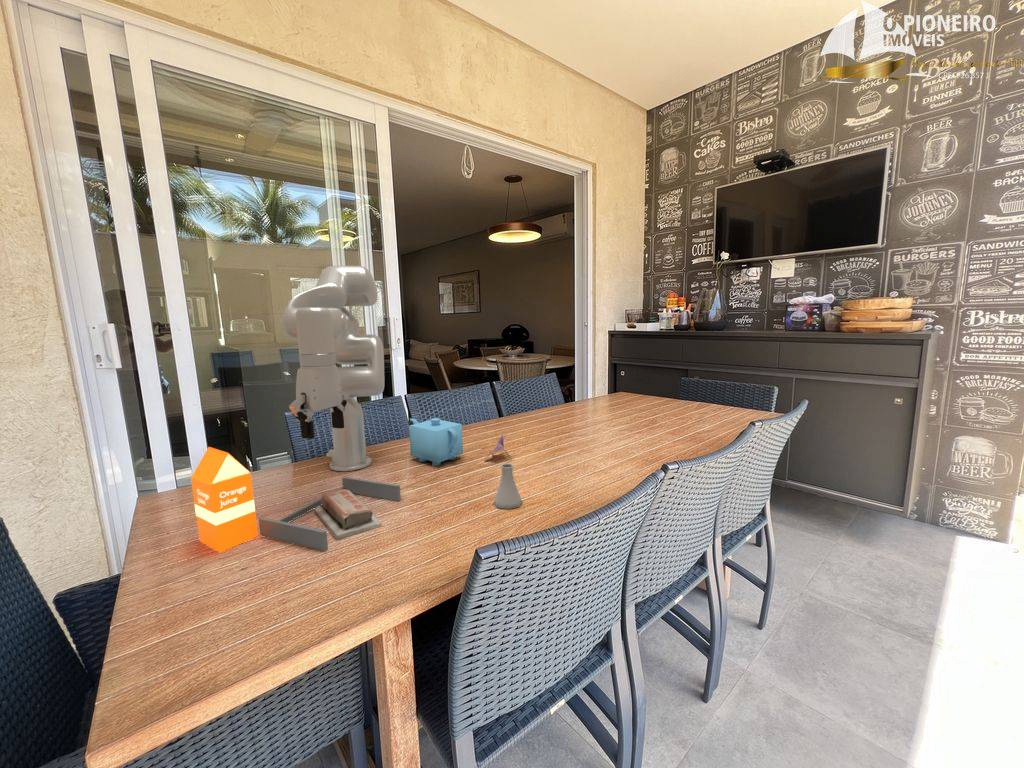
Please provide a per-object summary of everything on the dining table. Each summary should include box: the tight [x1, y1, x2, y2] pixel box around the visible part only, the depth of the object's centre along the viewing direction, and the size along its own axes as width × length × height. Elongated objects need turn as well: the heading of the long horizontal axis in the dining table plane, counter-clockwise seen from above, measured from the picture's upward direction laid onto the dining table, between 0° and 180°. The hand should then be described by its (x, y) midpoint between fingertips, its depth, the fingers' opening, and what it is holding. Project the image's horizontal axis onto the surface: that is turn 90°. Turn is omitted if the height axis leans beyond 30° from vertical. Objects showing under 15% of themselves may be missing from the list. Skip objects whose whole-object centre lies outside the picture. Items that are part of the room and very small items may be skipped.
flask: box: [493, 462, 523, 510], centre depth 106 cm, size 7×7×10 cm
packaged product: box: [314, 489, 382, 541], centre depth 99 cm, size 18×5×10 cm
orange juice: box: [190, 446, 259, 553], centre depth 89 cm, size 8×9×20 cm
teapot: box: [408, 417, 464, 467], centre depth 140 cm, size 22×11×14 cm, turn 53°
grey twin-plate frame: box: [258, 476, 402, 552], centre depth 100 cm, size 18×26×4 cm
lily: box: [484, 430, 512, 461], centre depth 139 cm, size 12×12×10 cm
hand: (323, 432), depth 101 cm, fingers open, 9 cm apart
